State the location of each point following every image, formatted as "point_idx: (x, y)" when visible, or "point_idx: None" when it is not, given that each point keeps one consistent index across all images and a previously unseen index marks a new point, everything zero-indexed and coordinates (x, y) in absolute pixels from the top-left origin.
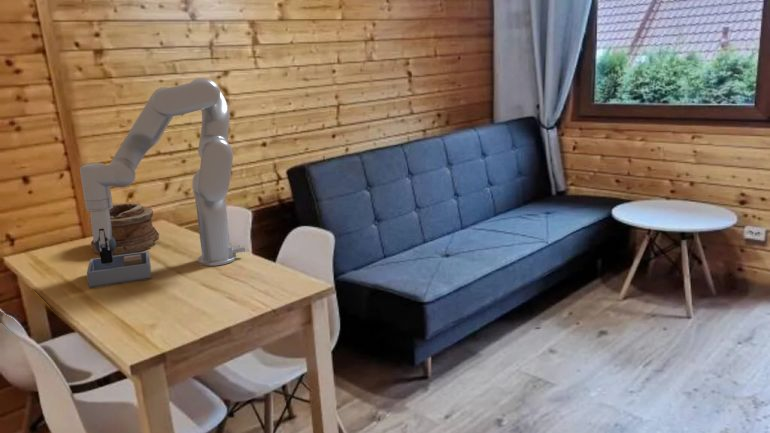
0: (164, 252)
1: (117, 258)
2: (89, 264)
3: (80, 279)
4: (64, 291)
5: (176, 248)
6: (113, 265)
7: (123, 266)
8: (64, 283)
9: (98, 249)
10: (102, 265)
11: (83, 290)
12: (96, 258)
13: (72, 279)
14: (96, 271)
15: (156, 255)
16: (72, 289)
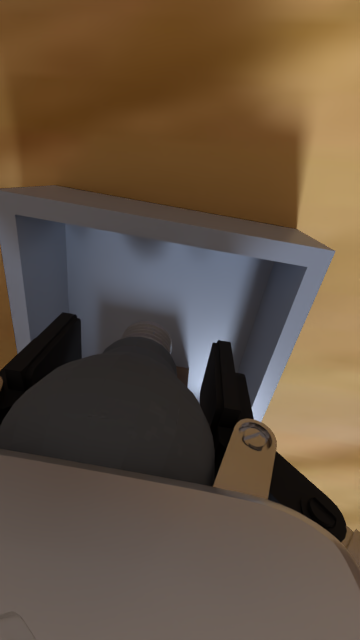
0: (340, 494)
1: (252, 387)
2: (195, 230)
3: (246, 147)
4: (61, 12)
5: (350, 522)
6: (254, 343)
7: (240, 372)
8: (237, 18)
9: (49, 374)
10: (274, 298)
11: (34, 148)
12: (313, 293)
13: (285, 90)
14: (2, 256)
15: (329, 472)
16: (78, 78)
